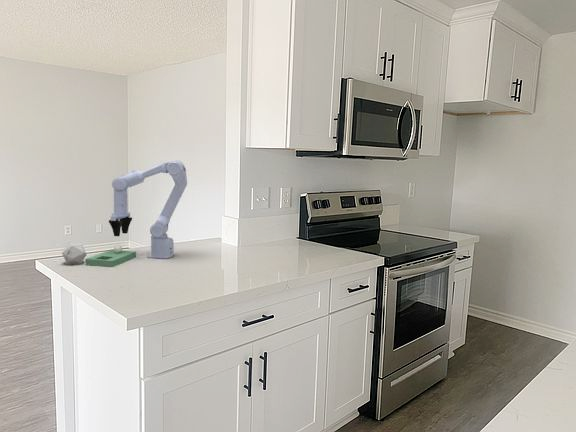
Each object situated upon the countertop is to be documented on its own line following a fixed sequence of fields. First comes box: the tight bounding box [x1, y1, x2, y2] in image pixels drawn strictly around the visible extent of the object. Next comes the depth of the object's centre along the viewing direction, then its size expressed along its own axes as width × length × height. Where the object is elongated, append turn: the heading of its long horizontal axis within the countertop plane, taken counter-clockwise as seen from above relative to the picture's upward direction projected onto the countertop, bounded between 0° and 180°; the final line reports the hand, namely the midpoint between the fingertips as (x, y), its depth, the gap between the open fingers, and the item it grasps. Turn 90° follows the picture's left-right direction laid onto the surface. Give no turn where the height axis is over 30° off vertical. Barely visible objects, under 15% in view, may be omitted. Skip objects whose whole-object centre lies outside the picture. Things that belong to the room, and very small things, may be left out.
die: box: [61, 243, 87, 265], centre depth 189 cm, size 8×9×10 cm
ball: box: [113, 244, 123, 253], centre depth 199 cm, size 4×4×4 cm
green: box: [84, 249, 137, 268], centre depth 195 cm, size 12×19×2 cm, turn 169°
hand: (120, 234), depth 203 cm, fingers open, 7 cm apart
